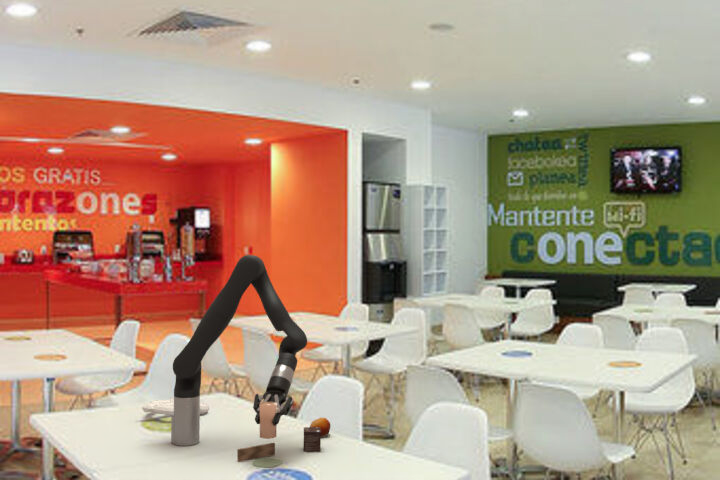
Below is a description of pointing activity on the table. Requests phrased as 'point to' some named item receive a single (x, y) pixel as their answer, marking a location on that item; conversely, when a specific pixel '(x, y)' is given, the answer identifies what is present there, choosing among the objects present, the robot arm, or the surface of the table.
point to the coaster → (267, 462)
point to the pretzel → (168, 407)
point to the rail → (255, 452)
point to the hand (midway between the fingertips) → (265, 423)
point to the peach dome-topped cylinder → (267, 420)
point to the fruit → (322, 426)
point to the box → (312, 439)
